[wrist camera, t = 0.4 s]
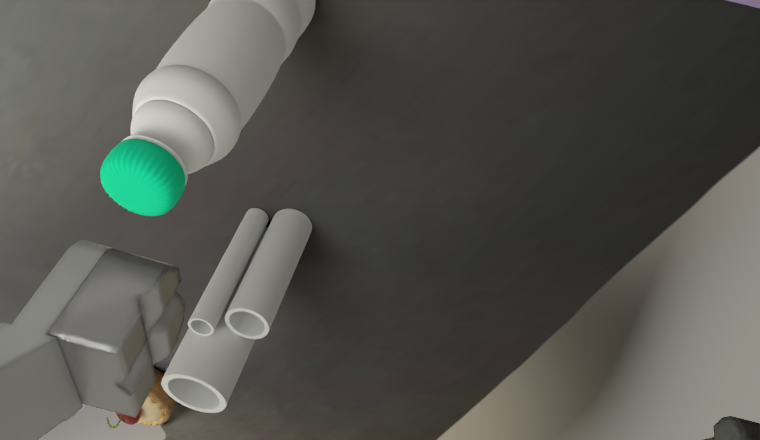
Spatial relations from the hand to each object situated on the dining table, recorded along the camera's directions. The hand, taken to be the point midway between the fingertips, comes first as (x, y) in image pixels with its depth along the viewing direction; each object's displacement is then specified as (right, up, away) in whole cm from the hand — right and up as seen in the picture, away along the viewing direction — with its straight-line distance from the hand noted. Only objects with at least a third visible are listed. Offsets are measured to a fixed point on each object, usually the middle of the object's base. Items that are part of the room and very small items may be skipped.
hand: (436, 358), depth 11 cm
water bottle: (-9, +21, +48) cm, 53 cm away
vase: (-13, +1, +70) cm, 71 cm away
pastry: (-38, -23, +102) cm, 111 cm away
